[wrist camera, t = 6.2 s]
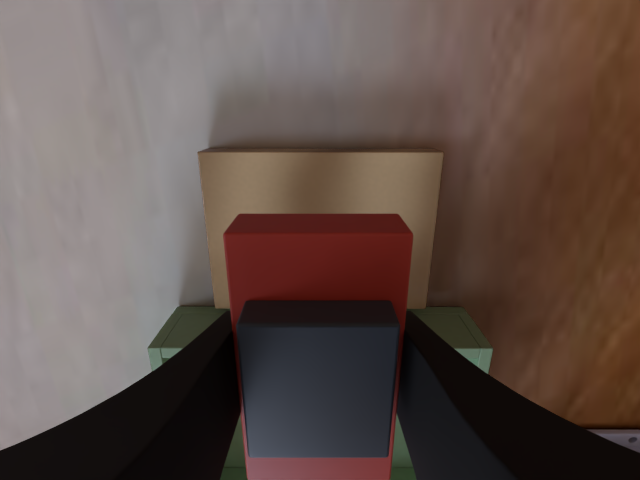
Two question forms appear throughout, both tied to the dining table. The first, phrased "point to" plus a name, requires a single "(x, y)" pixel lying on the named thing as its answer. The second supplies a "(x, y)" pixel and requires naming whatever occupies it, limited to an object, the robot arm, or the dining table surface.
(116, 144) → the dining table surface
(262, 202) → the stand
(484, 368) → the crate
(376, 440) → the toy car
